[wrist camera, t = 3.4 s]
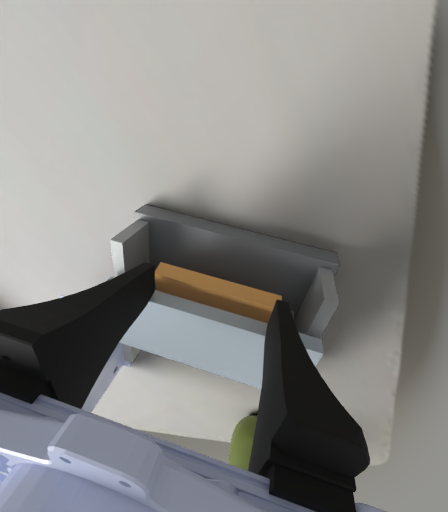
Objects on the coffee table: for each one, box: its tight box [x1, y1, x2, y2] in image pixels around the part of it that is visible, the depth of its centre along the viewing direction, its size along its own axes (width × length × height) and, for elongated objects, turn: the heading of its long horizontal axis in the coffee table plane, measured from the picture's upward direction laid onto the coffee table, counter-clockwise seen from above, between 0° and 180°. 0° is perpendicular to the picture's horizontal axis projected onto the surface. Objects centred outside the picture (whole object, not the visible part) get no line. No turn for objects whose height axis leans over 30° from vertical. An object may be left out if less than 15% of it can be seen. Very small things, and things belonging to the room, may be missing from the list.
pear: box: [229, 415, 257, 471], centre depth 26 cm, size 6×5×10 cm
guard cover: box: [107, 277, 324, 389], centre depth 16 cm, size 5×13×1 cm, turn 81°
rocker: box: [155, 262, 282, 323], centre depth 18 cm, size 7×10×1 cm
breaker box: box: [110, 205, 340, 363], centre depth 19 cm, size 12×14×5 cm
